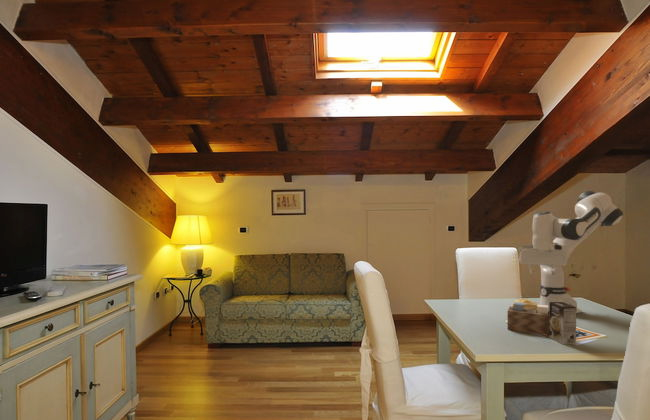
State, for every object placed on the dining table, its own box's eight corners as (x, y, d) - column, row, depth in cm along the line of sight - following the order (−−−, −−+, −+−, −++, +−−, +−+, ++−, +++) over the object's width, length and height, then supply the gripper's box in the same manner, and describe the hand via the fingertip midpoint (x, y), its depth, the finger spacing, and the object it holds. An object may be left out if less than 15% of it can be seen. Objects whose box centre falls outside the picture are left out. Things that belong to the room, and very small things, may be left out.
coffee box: (548, 337, 177) (548, 301, 176) (562, 337, 177) (562, 301, 177) (562, 344, 167) (562, 306, 167) (576, 344, 168) (576, 306, 168)
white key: (537, 313, 185) (536, 306, 185) (537, 311, 189) (537, 304, 189) (547, 315, 182) (547, 307, 182) (548, 312, 186) (548, 305, 186)
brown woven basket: (507, 329, 189) (507, 310, 189) (509, 324, 197) (509, 306, 197) (553, 335, 179) (553, 316, 179) (553, 330, 188) (553, 311, 188)
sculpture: (519, 322, 200) (519, 301, 200) (507, 316, 212) (506, 296, 212) (541, 322, 200) (541, 301, 200) (527, 315, 212) (527, 295, 212)
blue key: (513, 311, 190) (513, 303, 190) (514, 309, 194) (514, 301, 194) (523, 312, 188) (523, 304, 188) (524, 310, 191) (524, 303, 191)
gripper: (519, 245, 190) (519, 274, 190) (568, 246, 183) (568, 276, 183) (518, 244, 196) (518, 272, 196) (565, 245, 189) (565, 274, 189)
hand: (542, 274), depth 190 cm, fingers open, 8 cm apart
